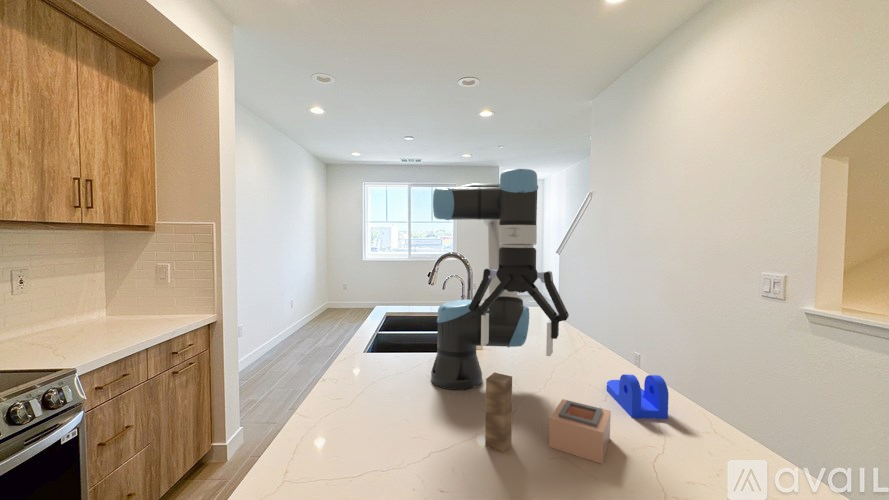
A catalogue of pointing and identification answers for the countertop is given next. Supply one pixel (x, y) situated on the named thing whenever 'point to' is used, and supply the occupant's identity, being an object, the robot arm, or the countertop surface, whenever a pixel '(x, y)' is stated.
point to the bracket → (641, 396)
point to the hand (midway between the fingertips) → (515, 349)
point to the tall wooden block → (498, 412)
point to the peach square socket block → (580, 430)
